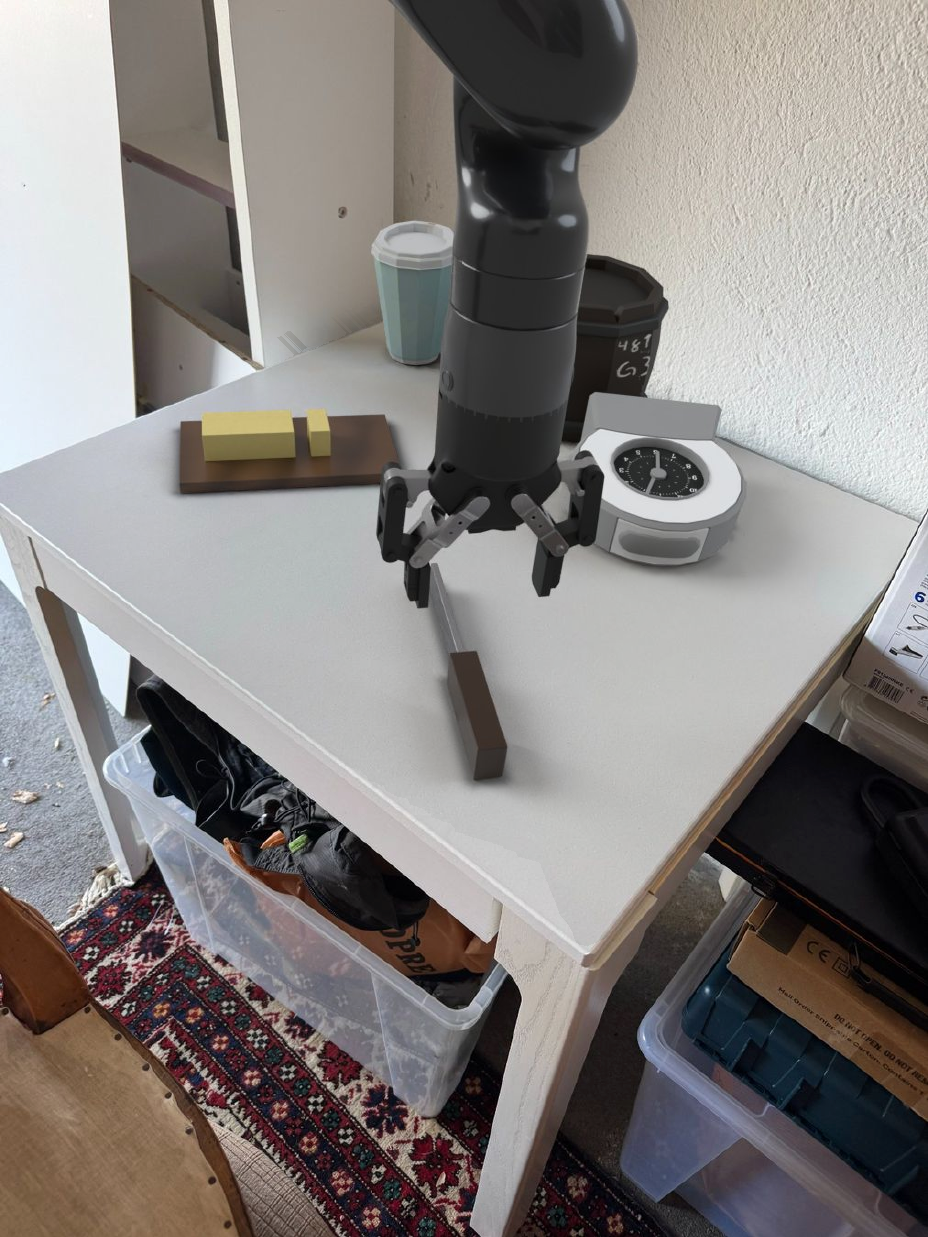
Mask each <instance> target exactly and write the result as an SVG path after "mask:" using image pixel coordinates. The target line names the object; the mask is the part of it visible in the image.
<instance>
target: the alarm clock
mask: <svg viewBox="0 0 928 1237" xmlns="http://www.w3.org/2000/svg"><path fill="white" fill-rule="evenodd" d="M722 411H723V410H722V408H721V407H720V405H718V404H711V403H699V402H692V401H683V400H682V401H681V400H674V399H664V398H654V397H648V398H646V397H636V396H627V395H617V394H608V393H599V392H595V393H593V394H591V395H590V397H589V402H588V407H587V412H586V417H585V422H584V427H583V432H582V437H581V441H580V442H579V443H577V444H576V446H575V447H574V449H573V451H572V456H571V460H574V459H575V456H576V455H577V453H579V452H580V451H583V450H588V451H590V452H591V453H592V455H593V457H594V458H595V460H596V462H597V463H598V465H599V467H600V468H601V470H602V472H603V473H604V476H605V477H604V485H603V492H602V499H601V506H600V513H599V520H598V528H597V535H596V540H595V542H594V543H593V544H595V545H596V546H598V547H600V548H602V549H603V550H605V551H606V552H608V553H609V554H612V555H614V556H617V557H619V558H622V559H625V560H627V561H630V562H633V563H634V562H635V563H639V564H645V565H648V566H649V565H651V566H673V567H674V566H681V565H686V564H693V563H697V562H700V561H703V560H705V559H707V558H709V557H711V556H714V555H716V554H717V553H718V552H720V550H722V549H723V548H724V547H725V546H726V545H727V544H728V543H729V541H730V538H731V536H732V534H733V532H734V530H735V527H736V524H737V522H738V519H739V516H740V514H741V512H742V508H743V506H744V503H745V500H746V498H747V482H746V478H745V476H744V474H743V472H742V468H741V467H740V466H739V465H738V463H737V462H736V461H735V460H734V459H733V457H732V456H731V455H730V453H728V452H727V451H726V450H725V449H724V448H723V447H721V446H720V445H719V444H717V443H716V442H715V440H716V436H717V431H718V427H719V423H720V418H721V415H722ZM565 486H566V485H565ZM570 494H571V493H570V492H569V490H568V488H567V486H566V487H565V492H564V503H565V509H566V513H567V514H568V512H569V503H570Z"/></svg>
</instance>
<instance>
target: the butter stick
mask: <svg viewBox="0 0 928 1237" xmlns="http://www.w3.org/2000/svg"><path fill="white" fill-rule="evenodd" d="M292 418H293V413H292V410H291V409H279V410H278V409H277V410H275V409H274V410H249V411H247V410H245V411H218V412H216V411H215V412H201V421H202V439H203V447H204V456H205V461H223V460H247V459H270V458H293V457H295V437H294V427H293V420H292Z"/></svg>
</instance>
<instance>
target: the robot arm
mask: <svg viewBox="0 0 928 1237" xmlns="http://www.w3.org/2000/svg"><path fill="white" fill-rule="evenodd" d="M387 1H388V2H389V3H390V4H391V5H392V6H393V7H394V8H395V9H396V10H397V11H398V12H399V13H400V14H401V16H402V17H403V18H404V19H405V20H406V21H407V23H408V24H409V25H410V26H411V28H412V29H413V30H414V31H415V32H416V33H417V35H418V36H419V37H420V38H421V40H423V42H424V43H425V44H426V46H428V48H429V49H430V50H431V51H432V52H433V54H435V55H436V57H437V58H438V59H439V60H440V62H441V63H442V64H443V65H444V66H445V67H446V68H447V70H449V72H450V73H451V74H452V108H453V109H452V112H453V113H452V116H453V137H454V141H453V142H454V158H455V170H456V171H455V172H456V188H457V189H456V192H457V193H456V194H457V195H456V197H457V198H456V213H455V214H456V215H455V220H454V229H453V233H454V236H453V245H452V246H453V248H452V260H451V275H450V290H449V303H448V310H447V315H446V320H445V324H444V330H443V335H442V345H441V350H440V359H439V361H440V362H439V378H438V379H439V380H438V395H437V411H436V412H437V413H436V425H435V426H436V427H435V440H434V441H435V443H434V454H433V458H432V460H431V462H430V463H429V465H428V466H427V468H426V469H402V467H401V464H400V463H399V464H400V465H399V464H398V463H396V462H388V463H386V464H385V465H384V466H383V467H382V472H381V483H379V484H380V486H379V496H378V508H377V519H376V529H375V530H376V531H375V536H376V539H377V542H378V545H379V548H380V555H381V558H382V561H383V562H385V563H387V564H393V563H395V562H398V561H401V562H404V564H403V585H404V589H405V593H406V597H407V599H408V601H409V603H412V602H415V606H416V609H418V610H419V609H429V605H430V604H429V603H430V589H429V588H430V573H431V563H430V561H431V560H433V558H434V557H435V556H436V555H437V554H438V552H439V551H441V550H442V549H443V548H444V549H447V548H449V547H450V546H451V545H452V544H453V543H454V542H455V541H457V539H458V538H459V537H460V536H461V535H462V534H463V533H464V532H465V531H467V533H468V534H469V535H473V534H482V533H486V532H489V531H493V530H494V531H500V532H511V531H512V532H513V531H517V527H520V526H521V525H524V523H525V524H526V526H527V527H528V528H529V529H530V531H531V532H532V533H533V534H534V535H535V536H536V538H537V540H536V545H535V553H534V559H533V565H532V570H531V571H532V572H531V582H532V586H533V588H534V590H535V593H536V596H537V597H538V598H545V597H550V596H551V590H552V589H556V588H557V587H558V585H559V584H560V582H561V575H562V571H563V564H564V561H565V560H564V559H565V556H566V554H567V553H568V551H569V549H571V548H573V547H575V546H578V545H579V546H580V547H583V548H586V547H590V546H592V545H593V544H595V543H594V542H595V540H596V535H597V528H598V520H599V513H600V506H601V499H602V492H603V485H604V477H605V476H604V473H603V472H602V470H601V468H600V467H599V465H598V463H597V462H596V460H595V458H594V457H593V455H592V453H591V452H590V451H588V450H583V451H580V452H579V453H577V455H576V456H575V459H574V460H572V459H571V460H563V461H558V458H559V456H560V450H561V447H562V446H561V445H562V441H561V440H562V434H563V428H564V422H565V415H566V409H567V403H568V397H569V391H570V386H571V384H572V382H573V379H574V361H575V353H576V327H577V315H578V306H579V300H580V294H581V287H582V281H583V275H584V269H585V263H586V258H587V254H588V251H589V250H588V249H589V241H590V218H589V217H590V216H589V211H588V208H587V205H586V202H585V197H584V195H583V192H582V188H581V183H580V173H579V172H580V171H579V170H580V157H581V147H583V146H587V145H589V144H590V143H592V142H593V141H595V140H597V139H598V138H600V137H601V136H603V135H604V134H606V132H607V131H608V130H609V129H610V128H612V126H613V125H614V124H615V123H616V122H617V120H619V118H620V117H621V116H622V113H623V112H624V110H625V108H626V107H627V105H628V104H629V101H630V98H631V96H632V93H633V90H634V87H635V84H636V79H637V74H638V65H639V46H638V38H637V31H636V26H635V23H634V20H633V17H632V14H631V12H630V8H629V7H628V4H627V3H626V1H625V0H387ZM562 483H564V485H565V486H567V488H568V490H569V492H570V493H571V494H570V503H569V512H568V513H567V519H564V520H562V521H559V522H557V520H555V517H553V515H552V514H551V513H550V512H549V510H548V509H547V508H546V506H545V505H544V503H545V502H546V501H548V499H549V498H550V497H551V496H552V495H553V494H554V493H555V492H556V490H558V488H559V487H560V486H561V484H562ZM427 491H428V493H429V494H430V496H431V497H432V498H431V499H430V500H429V501H428V502H427V504H426V505H425V506H424V507H423V508H422V511H421V514H420V515H421V516H420V517H419V518H418V519H417V521H416V522H415V523H414V524H413V525H412V526H411V527H410V528H409V529H408V530H407V532H404V529H405V520H406V512H407V509H411V508H413V507H414V504H415V503H416V502H417V499H418V498H419V495H420V494H421V493H423V492H427ZM446 515H447V518H446Z"/></svg>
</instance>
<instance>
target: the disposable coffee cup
mask: <svg viewBox="0 0 928 1237" xmlns="http://www.w3.org/2000/svg"><path fill="white" fill-rule="evenodd" d="M453 236H454V231H453V230H452V229H451V227H448V226H445V225H442V224H439V223H435V222H431V221H422V220H409V221H408V220H407V221H403V222H396V223H393V224H391V225H389V226H387V227H385V228H382V229H381V230H380V231H379V233H378V234H377V236H376V238H375V240H374V241H373V243H372V244H371V251H370V254H371V255H372V256H373V262H374V270H375V276H376V283H377V289H378V296H379V302H380V309H381V315H382V322H383V329H384V336H385V342H386V349H387V350H388V353H389V355H390V356H391V358H392V359H393V360H394V361H397V362H398V363H401V364H405V365H412V366H413V365H414V366H419V365H420V366H421V365H428V364H431V363H432V362H434V361H436V360H437V359H438V357H439V355H440V354H441V345H442V335H443V330H444V324H445V320H446V315H447V310H448V303H449V290H450V275H451V260H452V248H453V246H452V245H453Z"/></svg>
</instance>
